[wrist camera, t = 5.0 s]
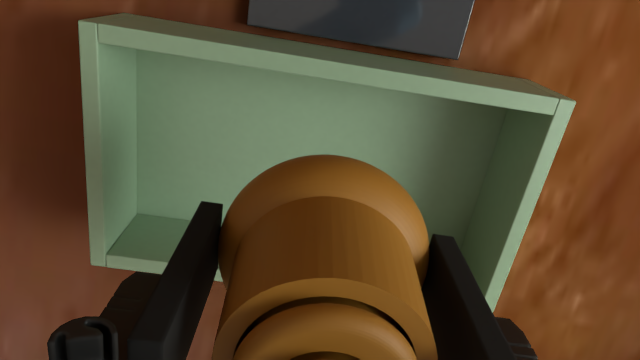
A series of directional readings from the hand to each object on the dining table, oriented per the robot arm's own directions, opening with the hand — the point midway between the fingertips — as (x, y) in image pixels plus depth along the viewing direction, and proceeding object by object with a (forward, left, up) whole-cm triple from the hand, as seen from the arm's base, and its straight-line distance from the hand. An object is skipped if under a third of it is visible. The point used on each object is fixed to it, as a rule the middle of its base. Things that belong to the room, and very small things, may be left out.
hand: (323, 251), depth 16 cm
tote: (0, 0, -10) cm, 10 cm away
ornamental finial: (0, 0, -1) cm, 1 cm away
